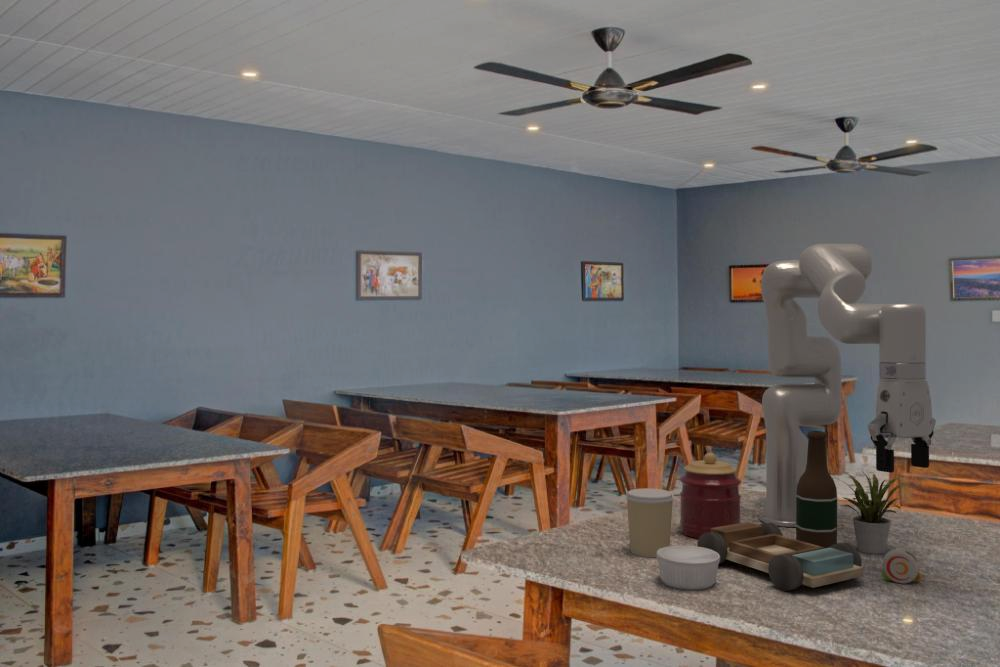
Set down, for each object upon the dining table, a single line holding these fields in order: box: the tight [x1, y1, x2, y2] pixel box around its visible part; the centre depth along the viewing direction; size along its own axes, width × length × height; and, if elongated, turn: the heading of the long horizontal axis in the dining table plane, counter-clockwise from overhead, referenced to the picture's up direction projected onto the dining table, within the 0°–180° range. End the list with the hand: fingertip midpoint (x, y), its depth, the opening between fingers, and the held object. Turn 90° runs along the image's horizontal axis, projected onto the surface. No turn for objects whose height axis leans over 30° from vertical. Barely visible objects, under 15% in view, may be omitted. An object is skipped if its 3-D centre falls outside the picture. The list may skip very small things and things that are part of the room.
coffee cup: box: [625, 487, 674, 558], centre depth 177 cm, size 9×9×12 cm
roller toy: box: [881, 546, 922, 585], centre depth 158 cm, size 4×6×6 cm
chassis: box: [696, 521, 865, 592], centre depth 165 cm, size 28×17×6 cm, turn 30°
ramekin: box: [655, 545, 720, 591], centre depth 158 cm, size 11×11×5 cm
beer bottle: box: [795, 430, 838, 548], centre depth 179 cm, size 8×8×24 cm
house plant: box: [837, 470, 912, 555], centre depth 178 cm, size 14×14×16 cm
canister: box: [679, 452, 742, 539], centre depth 192 cm, size 13×13×18 cm
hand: (902, 469), depth 157 cm, fingers open, 9 cm apart
